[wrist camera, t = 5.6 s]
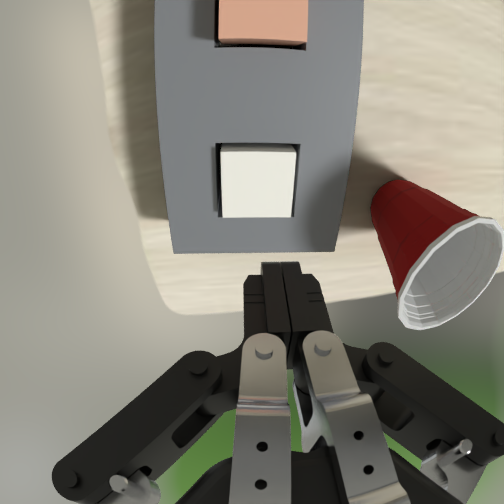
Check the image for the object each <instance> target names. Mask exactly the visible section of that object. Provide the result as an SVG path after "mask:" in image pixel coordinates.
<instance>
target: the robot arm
mask: <svg viewBox="0 0 504 504" xmlns="http://www.w3.org/2000/svg"><path fill="white" fill-rule="evenodd" d="M243 288H244V339H243V341H242V343H241V345H240V346H239V347H238V348H237V349H235V350H234V351H232V352H230V353H227V354H224V355H221V356H217V357H216V356H214V355H213V354H211V353H209V352H206V351H193V352H190V353H188V354H186V355H184V356H183V357H182V358H181V359H180V360H179V361H177V362H176V363H175V364H174V365H173V366H172V367H171V368H170V369H168V370H167V371H166V372H165V373H164V374H163V375H162V376H160V377H159V378H158V379H157V380H156V381H155V382H154V383H152V384H151V385H150V386H149V387H148V388H147V389H145V390H144V391H143V392H142V393H141V394H140V395H139V396H138V397H136V398H135V399H134V400H133V401H131V402H130V403H129V404H128V405H127V406H126V407H124V408H123V409H122V410H121V411H120V412H118V413H117V414H116V415H115V416H114V417H113V418H111V419H110V420H109V421H108V422H107V423H105V424H104V425H103V426H102V427H101V428H99V429H98V430H97V431H96V432H95V433H93V434H92V435H91V436H90V437H89V438H87V439H86V440H85V441H84V442H82V443H81V444H80V445H79V446H77V447H76V448H75V449H74V450H73V451H71V452H70V453H69V454H68V455H66V456H65V457H64V458H63V459H61V460H60V461H59V462H58V463H57V464H56V465H55V467H54V468H53V471H52V481H53V484H54V487H55V489H56V490H57V491H58V493H59V494H60V495H61V496H63V497H64V498H66V499H68V500H71V501H74V502H77V503H79V504H158V503H159V501H160V497H161V493H160V489H159V486H158V485H157V483H156V482H155V480H156V479H157V478H158V477H159V476H161V475H162V474H163V473H164V472H165V471H166V470H167V469H168V468H169V467H170V466H171V465H173V464H174V463H175V462H176V461H177V460H178V459H179V458H180V457H181V456H182V455H183V454H184V453H185V452H186V451H187V450H188V449H189V448H190V447H191V446H192V445H193V444H194V443H195V442H196V441H197V440H198V439H199V438H200V437H201V436H202V435H203V434H204V433H205V432H206V431H207V430H208V429H209V428H210V427H211V426H212V425H213V424H214V423H215V422H216V421H217V420H218V419H219V417H221V416H222V415H223V413H224V412H226V411H229V410H233V409H236V408H237V410H236V421H235V434H234V446H233V457H230V458H227V459H225V460H223V461H220V462H218V463H217V464H215V465H214V466H212V467H211V468H210V469H209V470H207V471H206V472H205V473H204V474H203V475H202V476H201V477H200V478H199V479H198V480H197V482H196V483H195V484H194V485H193V486H192V487H191V488H190V489H189V490H188V491H187V492H186V493H185V494H184V495H183V496H182V497H181V498H180V499H179V500H178V501H177V502H176V503H175V504H466V503H467V501H468V499H469V498H470V496H471V494H472V492H473V491H474V489H475V487H476V485H477V483H478V481H479V480H480V478H481V476H482V474H483V471H484V470H485V468H486V465H487V464H488V463H490V462H492V461H494V460H495V459H497V458H499V457H500V456H502V455H504V423H502V422H501V421H500V420H498V419H497V418H495V417H494V416H493V415H491V414H490V413H488V412H487V411H486V410H484V409H483V408H481V407H480V406H479V405H477V404H476V403H474V402H473V401H472V400H470V399H469V398H467V397H466V396H465V395H463V394H462V393H460V392H459V391H458V390H456V389H455V388H453V387H452V386H451V385H449V384H448V383H446V382H445V381H444V380H442V379H441V378H439V377H438V376H437V375H435V374H434V373H432V372H431V371H429V370H428V369H427V368H425V367H424V366H423V365H421V364H420V363H418V362H417V361H415V360H414V359H413V358H411V357H410V356H408V355H407V354H406V353H404V352H403V351H401V350H400V349H398V348H397V347H396V346H394V345H392V344H390V343H385V342H380V343H375V344H373V345H372V346H371V347H370V348H369V349H368V350H366V349H361V348H356V347H351V346H348V345H345V344H344V343H342V341H341V340H340V338H338V337H337V336H336V335H335V334H334V332H333V329H332V326H331V322H330V319H329V315H328V312H327V308H326V304H325V302H324V297H323V294H322V291H321V287H320V284H319V282H318V281H317V279H316V278H315V277H314V276H313V275H312V274H302V272H301V268H300V264H299V262H261V275H248V277H247V279H246V280H245V282H244V284H243ZM287 369H293V372H294V381H293V391H294V396H295V400H296V405H297V409H298V414H299V419H300V424H301V429H302V448H303V452H296V451H291V424H290V407H289V404H288V401H287ZM383 432H384V433H386V434H387V435H388V436H390V437H391V438H392V439H394V440H395V441H396V442H398V443H399V444H401V445H402V446H403V447H405V448H406V449H407V450H409V451H410V452H411V453H413V454H414V455H415V456H417V457H418V458H420V459H421V460H422V464H421V468H420V471H419V470H418V469H417V468H415V467H414V466H413V465H412V464H410V463H409V462H408V461H407V460H405V459H404V458H403V457H402V456H400V455H399V454H398V453H396V452H395V451H393V450H392V449H390V448H388V445H387V442H386V439H385V436H384V433H383Z"/></svg>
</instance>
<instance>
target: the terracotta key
mask: <svg viewBox="0 0 504 504" xmlns="http://www.w3.org/2000/svg"><path fill="white" fill-rule="evenodd" d="M307 31H308V0H219V40H220V42H221V43H222V44H268V45H285V46H296V45H299V44H302V43H305V42H307Z"/></svg>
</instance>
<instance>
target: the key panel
mask: <svg viewBox="0 0 504 504" xmlns="http://www.w3.org/2000/svg"><path fill="white" fill-rule="evenodd" d="M363 11H364V0H308V31H307V42H305V43H302V44H299V45H296V46H292V49H280V48H258V47H223V48H219V0H155V13H154V50H155V83H156V102H157V117H158V131H159V142H160V153H161V163H162V172H163V181H164V189H165V197H166V205H167V213H168V220H169V227H170V233H171V240H172V246H173V252H174V254H186V253H270V252H334V251H335V246H336V241H337V236H338V231H339V226H340V221H341V215H342V210H343V204H344V199H345V193H346V187H347V181H348V175H349V168H350V162H351V155H352V147H353V140H354V132H355V124H356V115H357V106H358V96H359V85H360V73H361V59H362V41H363ZM220 143H291V145H292V146H293V148H294V150H295V151H296V164H295V176H294V188H293V199H292V210H291V217H243V218H223V214H222V190H221V175H220Z"/></svg>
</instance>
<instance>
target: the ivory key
mask: <svg viewBox="0 0 504 504" xmlns="http://www.w3.org/2000/svg"><path fill="white" fill-rule="evenodd" d="M295 164H296V151H295V150H294V148H293V146H292V145H291V143H222V147H221V184H222V214H223V218H243V217H291V210H292V199H293V188H294V176H295Z"/></svg>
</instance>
